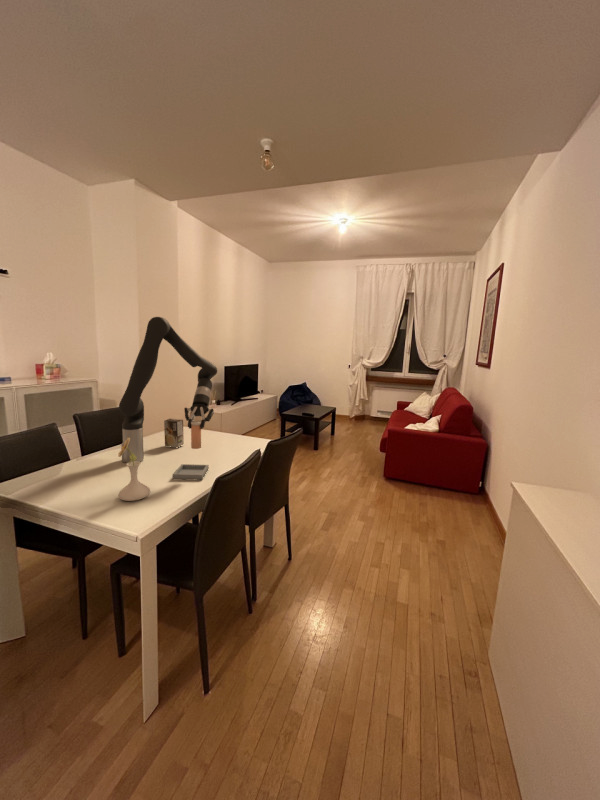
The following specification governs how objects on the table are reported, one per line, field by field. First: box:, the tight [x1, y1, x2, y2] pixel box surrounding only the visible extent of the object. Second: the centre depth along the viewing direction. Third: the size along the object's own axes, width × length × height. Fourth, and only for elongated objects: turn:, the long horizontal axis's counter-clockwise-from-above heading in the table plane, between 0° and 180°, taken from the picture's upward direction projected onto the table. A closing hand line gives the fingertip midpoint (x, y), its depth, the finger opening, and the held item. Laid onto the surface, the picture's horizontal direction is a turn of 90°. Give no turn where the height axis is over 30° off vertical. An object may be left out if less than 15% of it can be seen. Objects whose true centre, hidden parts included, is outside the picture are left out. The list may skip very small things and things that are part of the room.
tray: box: [172, 463, 210, 481], centre depth 154 cm, size 13×13×2 cm
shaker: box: [190, 420, 202, 450], centre depth 151 cm, size 5×5×12 cm
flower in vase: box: [117, 437, 151, 502], centre depth 126 cm, size 13×11×25 cm
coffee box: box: [163, 418, 184, 447], centre depth 194 cm, size 9×6×16 cm
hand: (195, 427), depth 149 cm, fingers closed on shaker, 4 cm apart
